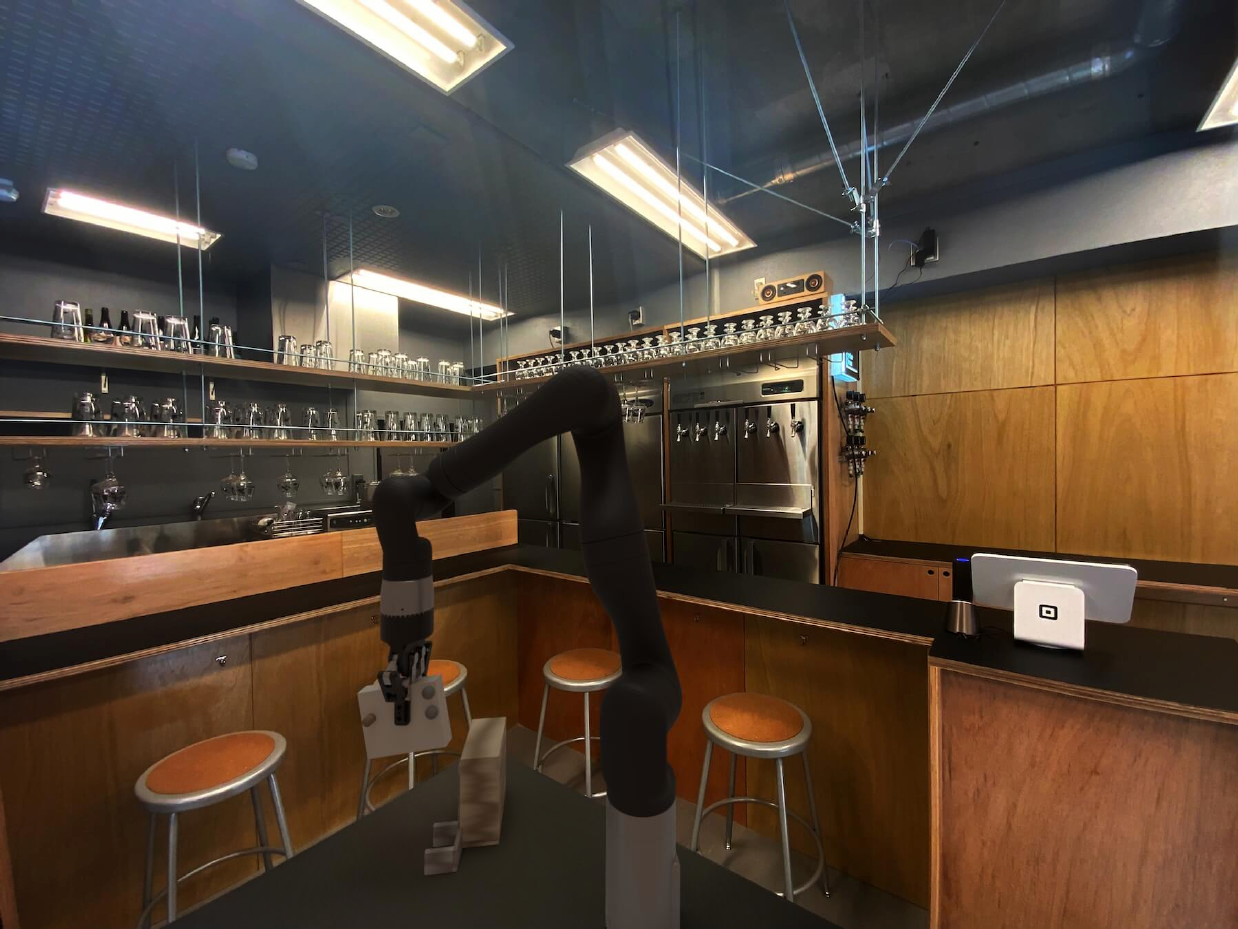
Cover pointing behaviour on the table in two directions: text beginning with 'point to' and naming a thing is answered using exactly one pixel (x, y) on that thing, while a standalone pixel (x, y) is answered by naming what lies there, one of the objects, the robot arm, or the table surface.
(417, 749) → the door
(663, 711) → the robot arm
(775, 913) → the table surface
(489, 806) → the cabinet
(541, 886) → the table surface
